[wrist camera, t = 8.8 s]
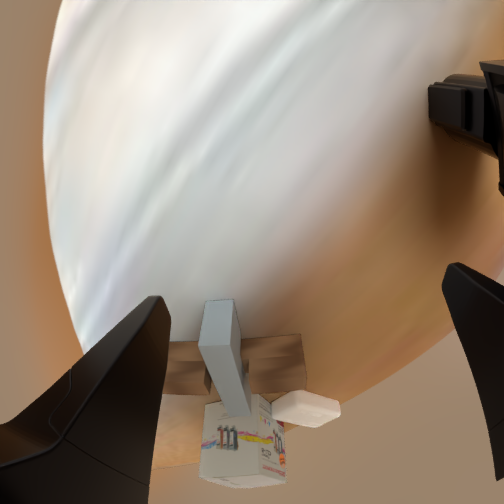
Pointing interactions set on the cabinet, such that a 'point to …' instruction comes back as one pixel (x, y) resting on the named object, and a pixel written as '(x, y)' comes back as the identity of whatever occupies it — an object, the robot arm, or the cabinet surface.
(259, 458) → the ink box
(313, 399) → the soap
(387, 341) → the cabinet surface
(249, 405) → the light blue block
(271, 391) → the brown boxy piece
